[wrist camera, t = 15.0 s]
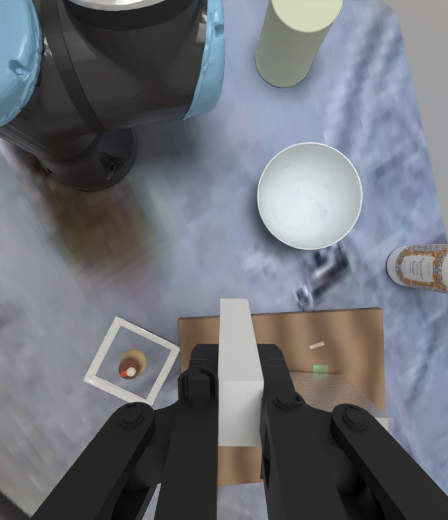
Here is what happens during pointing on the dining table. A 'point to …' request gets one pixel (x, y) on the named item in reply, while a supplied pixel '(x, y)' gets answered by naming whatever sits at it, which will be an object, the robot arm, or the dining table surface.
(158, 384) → the dessert
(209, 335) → the brown wooden cutting board
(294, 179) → the chinaware
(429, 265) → the bath foam
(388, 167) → the dining table surface
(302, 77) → the can
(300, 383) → the panel with knobbed post
